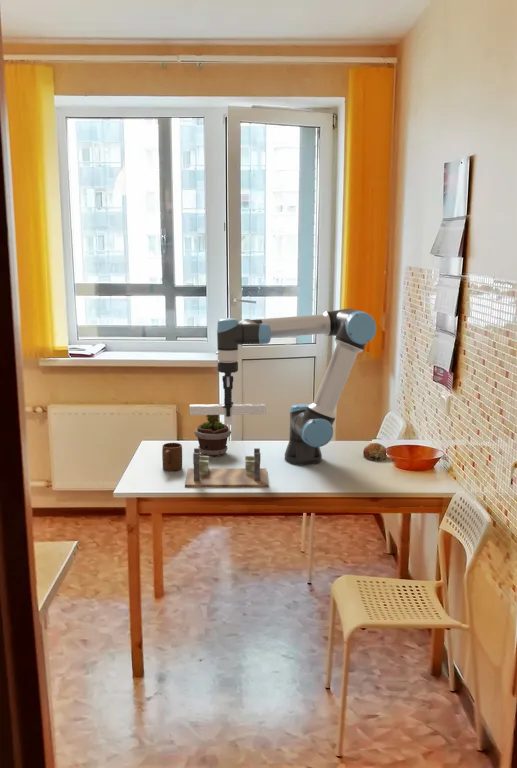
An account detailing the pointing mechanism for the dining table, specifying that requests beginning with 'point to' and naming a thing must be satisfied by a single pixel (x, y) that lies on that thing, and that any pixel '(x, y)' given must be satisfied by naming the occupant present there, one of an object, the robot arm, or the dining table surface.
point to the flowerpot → (212, 437)
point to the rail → (219, 410)
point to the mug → (172, 456)
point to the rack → (226, 473)
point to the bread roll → (374, 452)
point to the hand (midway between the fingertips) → (228, 423)
